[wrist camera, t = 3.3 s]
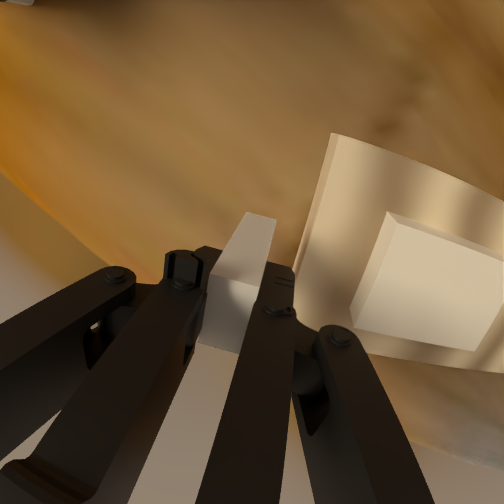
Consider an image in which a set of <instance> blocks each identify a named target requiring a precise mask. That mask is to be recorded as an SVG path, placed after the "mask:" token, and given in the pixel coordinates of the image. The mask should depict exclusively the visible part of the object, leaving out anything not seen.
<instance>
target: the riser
mask: <svg viewBox="0 0 504 504" xmlns="http://www.w3.org/2000/svg"><path fill="white" fill-rule="evenodd" d="M387 211H388V212H391V213H394V214H397V215H400V216H403V217H406V218H409V219H412V220H415V221H417V222H420V223H423V224H426V225H429V226H431V227H434V228H437V229H440V230H442V231H445V232H448V233H450V234H453V235H456V236H458V237H461V238H463V239H466V240H468V241H471V242H474V243H476V244H479V245H481V246H483V247H486V248H488V249H491V250H493V251H496V252H498V253H500V254H503V255H504V202H503V201H502V200H500V199H498V198H496V197H494V196H492V195H490V194H488V193H486V192H484V191H482V190H480V189H478V188H476V187H474V186H472V185H470V184H468V183H466V182H463V181H461V180H459V179H457V178H455V177H452V176H450V175H448V174H446V173H443V172H441V171H439V170H436V169H434V168H432V167H429V166H427V165H424V164H422V163H420V162H417V161H414V160H412V159H409V158H407V157H404V156H402V155H399V154H396V153H393V152H391V151H388V150H385V149H382V148H380V147H377V146H374V145H371V144H368V143H365V142H362V141H359V140H356V139H353V138H349V137H346V136H343V135H340V134H335V133H331V136H330V140H329V143H328V147H327V151H326V155H325V158H324V162H323V166H322V169H321V173H320V177H319V180H318V184H317V187H316V191H315V195H314V198H313V202H312V205H311V209H310V212H309V215H308V219H307V222H306V226H305V229H304V233H303V236H302V239H301V243H300V246H299V249H298V252H297V256H296V259H295V262H294V265H293V269H292V270H293V272H294V273H295V287H294V304H293V307H294V309H295V310H296V314H297V319H298V320H299V321H300V322H301V323H302V324H304V325H305V326H307V327H309V328H311V329H313V330H315V331H317V332H319V330H320V328H321V327H323V326H325V325H338V326H342V327H344V328H347V329H349V330H350V331H352V332H353V333H354V334H355V335H356V336H357V337H358V338H359V340H360V342H361V344H362V346H363V348H364V350H365V351H366V353H370V354H376V355H381V356H386V357H392V358H397V359H403V360H409V361H415V362H421V363H428V364H434V365H441V366H448V367H455V368H463V369H471V370H479V371H488V372H497V373H504V303H503V305H502V307H501V309H500V310H499V312H498V314H497V316H496V317H495V319H494V321H493V323H492V324H491V326H490V328H489V329H488V331H487V333H486V334H485V336H484V338H483V339H482V341H481V342H480V344H479V345H478V347H477V348H476V350H475V352H474V351H468V350H462V349H457V348H451V347H445V346H440V345H435V344H429V343H424V342H419V341H414V340H409V339H404V338H399V337H394V336H389V335H385V334H380V333H375V332H371V331H366V330H362V329H357V328H354V327H353V322H352V317H351V313H350V308H349V307H350V305H351V303H352V300H353V298H354V296H355V293H356V291H357V289H358V286H359V284H360V281H361V279H362V277H363V274H364V272H365V269H366V267H367V264H368V262H369V259H370V256H371V254H372V251H373V249H374V246H375V243H376V241H377V238H378V235H379V232H380V230H381V227H382V224H383V221H384V218H385V216H386V213H387Z"/></svg>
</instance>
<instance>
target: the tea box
mask: <svg viewBox="0 0 504 504" xmlns="http://www.w3.org/2000/svg"><path fill="white" fill-rule="evenodd" d="M0 1H2V2H9V3H15V4H20V5H26V6H31V5H32V4H33V3H34V1H35V0H0Z"/></svg>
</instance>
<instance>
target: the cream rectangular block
mask: <svg viewBox="0 0 504 504" xmlns="http://www.w3.org/2000/svg"><path fill="white" fill-rule="evenodd" d="M503 303H504V255H503V254H500V253H498V252H496V251H493V250H491V249H488V248H486V247H483V246H481V245H479V244H476V243H474V242H471V241H468V240H466V239H463V238H461V237H458V236H456V235H453V234H450V233H448V232H445V231H442V230H440V229H437V228H434V227H431V226H429V225H426V224H423V223H420V222H417V221H415V220H412V219H409V218H406V217H403V216H400V215H397V214H394V213H391V212H388V211H387V213H386V216H385V218H384V221H383V224H382V227H381V230H380V232H379V235H378V238H377V241H376V243H375V246H374V249H373V251H372V254H371V256H370V259H369V262H368V264H367V267H366V269H365V272H364V274H363V277H362V279H361V281H360V284H359V286H358V289H357V291H356V293H355V296H354V298H353V300H352V303H351V305H350V307H349V308H350V313H351V317H352V322H353V327H354V328H357V329H362V330H366V331H371V332H375V333H380V334H385V335H389V336H394V337H399V338H404V339H409V340H414V341H419V342H424V343H429V344H435V345H440V346H445V347H451V348H457V349H462V350H468V351H474V352H475V350H476V348H477V347H478V345H479V344H480V342H481V341H482V339H483V338H484V336H485V334H486V333H487V331H488V329H489V328H490V326H491V324H492V323H493V321H494V319H495V317H496V316H497V314H498V312H499V310H500V309H501V307H502V305H503Z"/></svg>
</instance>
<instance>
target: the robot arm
mask: <svg viewBox="0 0 504 504" xmlns="http://www.w3.org/2000/svg"><path fill="white" fill-rule="evenodd" d="M276 222H277V220H276V219H272V218H269V217H265V216H261V215H257V214H253V213H249V212H246V214H245V215H244V217H243V219H242V220H241V222H240V224H239V225H238V227H237V229H236V230H235V232H234V234H233V235H232V237H231V239H230V240H229V242H228V244H227V245H226V247H225V249H224V250H219V249H215V248H212V247H208V246H203V247H201V248H198V249H196V250H195V251H189V250H174V251H170V252H168V253H167V254H165V263H164V274H163V279H162V280H161V281H160V282H159V284H156V285H154V284H141V283H136V275H135V273H134V272H132V271H131V270H130V269H127V268H124V267H121V266H110V267H105V268H102V269H100V270H98V271H96V272H94V273H92V274H90V275H88V276H86V277H85V278H83V279H81V280H79V281H77V282H75V283H73V284H71V285H69V286H68V287H66V288H64V289H62V290H60V291H58V292H56V293H55V294H53V295H51V296H49V297H47V298H46V299H44V300H42V301H40V302H38V303H36V304H35V305H33V306H31V307H29V308H28V309H26V310H24V311H22V312H20V313H19V314H17V315H15V316H13V317H12V318H10V319H8V320H6V321H5V322H3V323H1V324H0V461H1V460H2V459H3V458H5V457H6V456H7V455H8V454H9V453H10V452H12V451H13V450H14V449H15V448H16V447H17V446H19V445H20V444H21V443H22V442H23V441H24V440H26V439H27V438H28V437H29V436H31V435H32V434H33V433H34V432H35V431H36V430H38V429H39V428H40V427H41V426H42V425H44V424H45V423H46V422H47V421H48V420H50V419H51V418H52V417H53V416H54V415H55V414H57V413H58V412H59V411H60V410H61V409H62V410H61V412H60V413H59V415H58V416H57V417H56V419H55V420H54V422H53V423H52V424H51V426H50V427H49V429H48V430H47V432H46V433H45V435H44V436H43V438H42V439H41V441H40V442H39V444H38V445H37V447H36V448H35V450H34V451H33V452H32V454H31V455H30V456H29V457H27V458H26V459H16V460H12V461H10V462H8V463H6V464H5V465H4V466H3V468H2V469H1V470H0V504H127V503H128V501H129V498H130V496H131V494H132V491H133V489H134V487H135V484H136V482H137V480H138V478H139V475H140V473H141V470H142V468H143V466H144V464H145V462H146V459H147V457H148V455H149V452H150V450H151V448H152V445H153V443H154V441H155V439H156V437H157V434H158V432H159V430H160V427H161V425H162V423H163V420H164V418H165V416H166V414H167V412H168V409H169V407H170V405H171V403H172V400H173V398H174V396H175V394H176V391H177V389H178V387H179V385H180V383H181V380H182V378H183V376H184V373H185V371H186V369H187V367H188V365H189V363H190V360H191V358H192V356H193V354H194V349H195V342H196V340H197V337H198V335H199V341H198V342H199V343H202V344H205V345H209V346H212V347H215V348H219V349H223V350H226V351H230V352H233V353H237V354H239V357H238V361H237V365H236V368H235V371H234V375H233V378H232V382H231V385H230V389H229V392H228V396H227V399H226V403H225V406H224V409H223V412H222V416H221V420H220V423H219V426H218V430H217V433H216V436H215V440H214V443H213V447H212V450H211V453H210V456H209V460H208V463H207V466H206V469H205V473H204V476H203V479H202V483H201V486H200V489H199V492H198V496H197V499H196V502H195V504H279V500H280V493H281V485H282V477H283V469H284V460H285V451H286V442H287V432H288V422H289V413H290V401H291V397H292V401H293V406H294V410H295V415H296V419H297V424H298V428H299V433H300V437H301V442H302V446H303V451H304V456H305V460H306V464H307V469H308V474H309V478H310V483H311V487H312V492H313V496H314V501H315V504H435V503H434V500H433V498H432V495H431V493H430V490H429V488H428V485H427V483H426V481H425V478H424V476H423V473H422V471H421V469H420V467H419V464H418V462H417V459H416V457H415V455H414V453H413V450H412V448H411V446H410V444H409V441H408V439H407V437H406V435H405V432H404V430H403V428H402V426H401V424H400V422H399V419H398V417H397V415H396V413H395V411H394V409H393V407H392V404H391V402H390V400H389V398H388V396H387V394H386V392H385V390H384V388H383V386H382V384H381V382H380V380H379V377H378V375H377V373H376V371H375V369H374V367H373V365H372V363H371V361H370V359H369V357H368V355H367V353H366V351H365V350H364V348H363V346H362V344H361V342H360V340H359V338H358V337H357V336H356V335H355V334H354V333H353V332H352V331H350V330H349V329H347V328H344V327H342V326H338V325H325V326H323V327H321V328H320V330H319V332H317V331H315V330H313V329H311V328H309V327H307V326H305V325H304V324H302V323H301V322H300V321H299V320H298V319H297V314H296V310H295V309H294V307H293V304H294V287H295V273H294V272H293V270H292V269H291V267H287V266H283V265H279V264H276V263H272V262H268V261H267V257H268V253H269V249H270V245H271V241H272V238H273V234H274V230H275V226H276ZM97 322H98V326H97V327H96V328H94V329H92V330H91V328H90V327H91V326H92V325H94V324H95V323H97ZM199 333H200V334H199Z"/></svg>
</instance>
